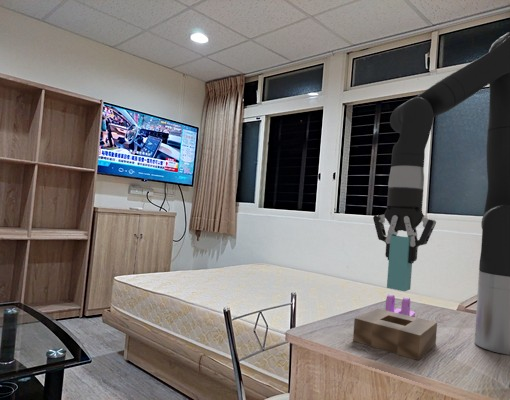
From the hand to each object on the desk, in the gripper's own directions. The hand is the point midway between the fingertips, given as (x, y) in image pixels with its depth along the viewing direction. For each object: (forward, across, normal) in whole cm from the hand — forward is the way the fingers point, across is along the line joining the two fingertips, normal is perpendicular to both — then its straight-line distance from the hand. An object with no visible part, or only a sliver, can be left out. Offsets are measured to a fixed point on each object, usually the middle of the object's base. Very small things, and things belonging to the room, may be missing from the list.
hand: (400, 261), depth 85 cm
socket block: (+19, 0, 0) cm, 19 cm away
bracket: (+19, +6, -24) cm, 31 cm away
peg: (+6, 0, 0) cm, 6 cm away
